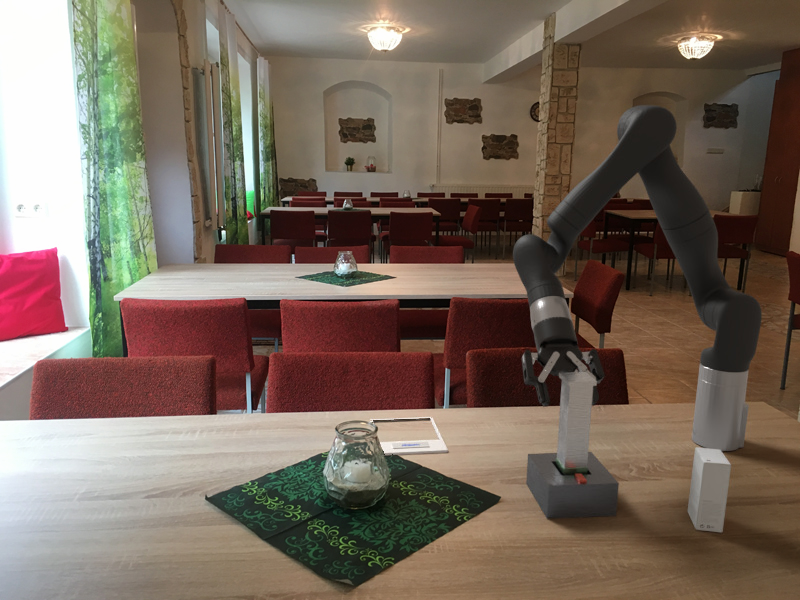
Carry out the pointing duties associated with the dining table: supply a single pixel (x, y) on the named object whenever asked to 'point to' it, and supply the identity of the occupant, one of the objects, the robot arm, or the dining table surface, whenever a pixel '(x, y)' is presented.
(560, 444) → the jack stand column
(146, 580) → the dining table surface
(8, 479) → the dining table surface
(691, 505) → the skincare box
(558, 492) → the block
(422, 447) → the photo frame
